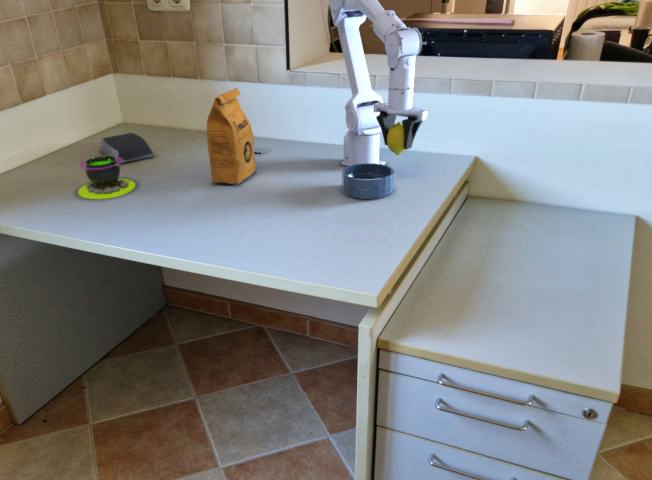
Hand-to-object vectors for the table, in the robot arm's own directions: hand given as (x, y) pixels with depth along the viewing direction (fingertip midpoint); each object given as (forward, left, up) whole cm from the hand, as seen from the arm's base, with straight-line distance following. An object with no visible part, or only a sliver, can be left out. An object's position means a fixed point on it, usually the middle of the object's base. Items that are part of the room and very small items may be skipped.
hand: (397, 146), depth 147 cm
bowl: (-1, -10, -9) cm, 13 cm away
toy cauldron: (-55, -52, -9) cm, 77 cm away
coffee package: (-34, -25, -9) cm, 44 cm away
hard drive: (-79, -32, -9) cm, 86 cm away
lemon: (0, 0, -2) cm, 2 cm away
